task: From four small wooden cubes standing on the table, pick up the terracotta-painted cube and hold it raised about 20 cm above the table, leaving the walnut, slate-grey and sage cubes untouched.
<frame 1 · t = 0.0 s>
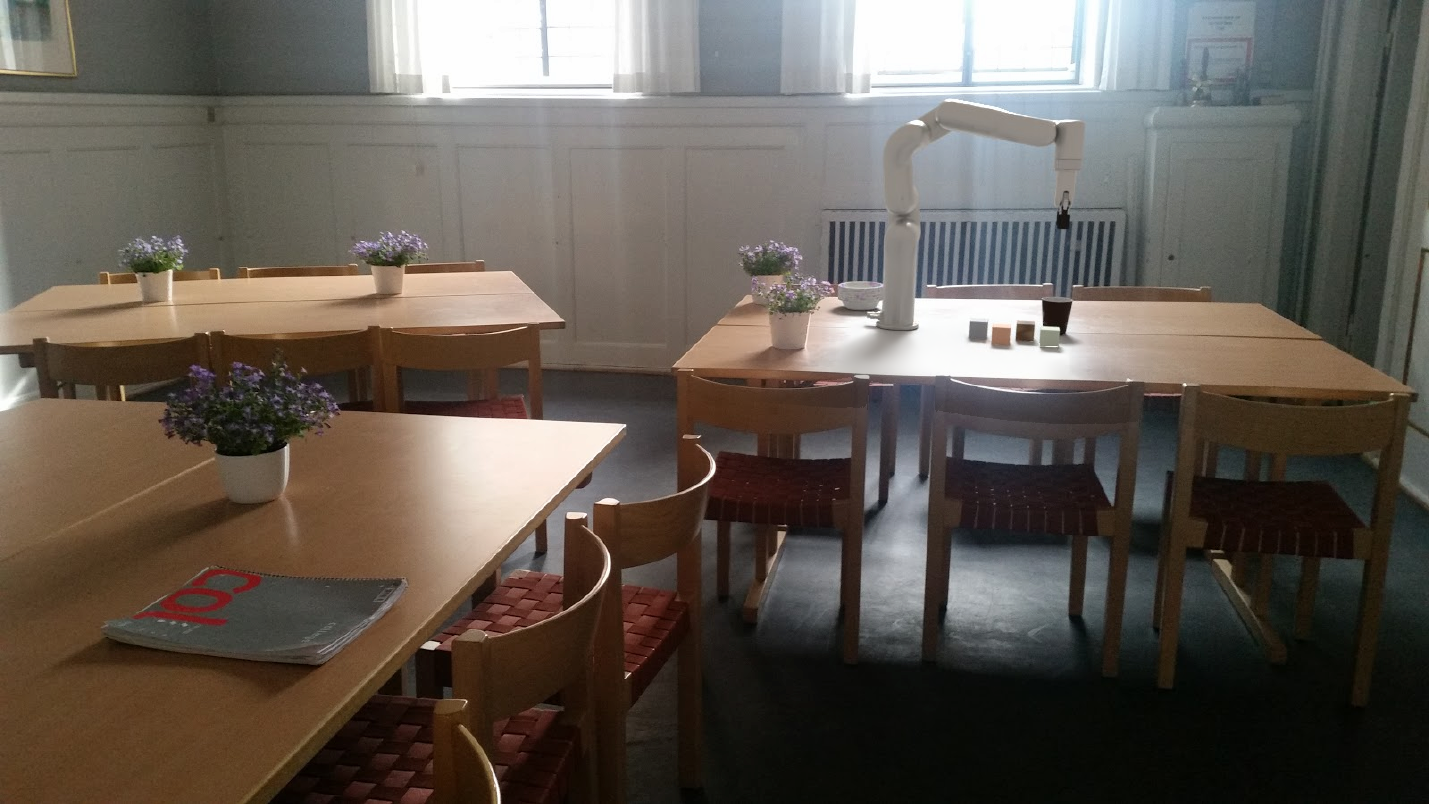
hand: (1062, 227, 314), 31 cm above the table, tool pointing down, fingers open, 9 cm apart
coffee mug: (1056, 333, 326), on the table
sage cube: (1048, 346, 308), on the table
white floral bowl: (860, 308, 363), on the table
slate cube: (977, 337, 320), on the table
terracotta cube: (1000, 343, 311), on the table
walnut cube: (1024, 339, 316), on the table
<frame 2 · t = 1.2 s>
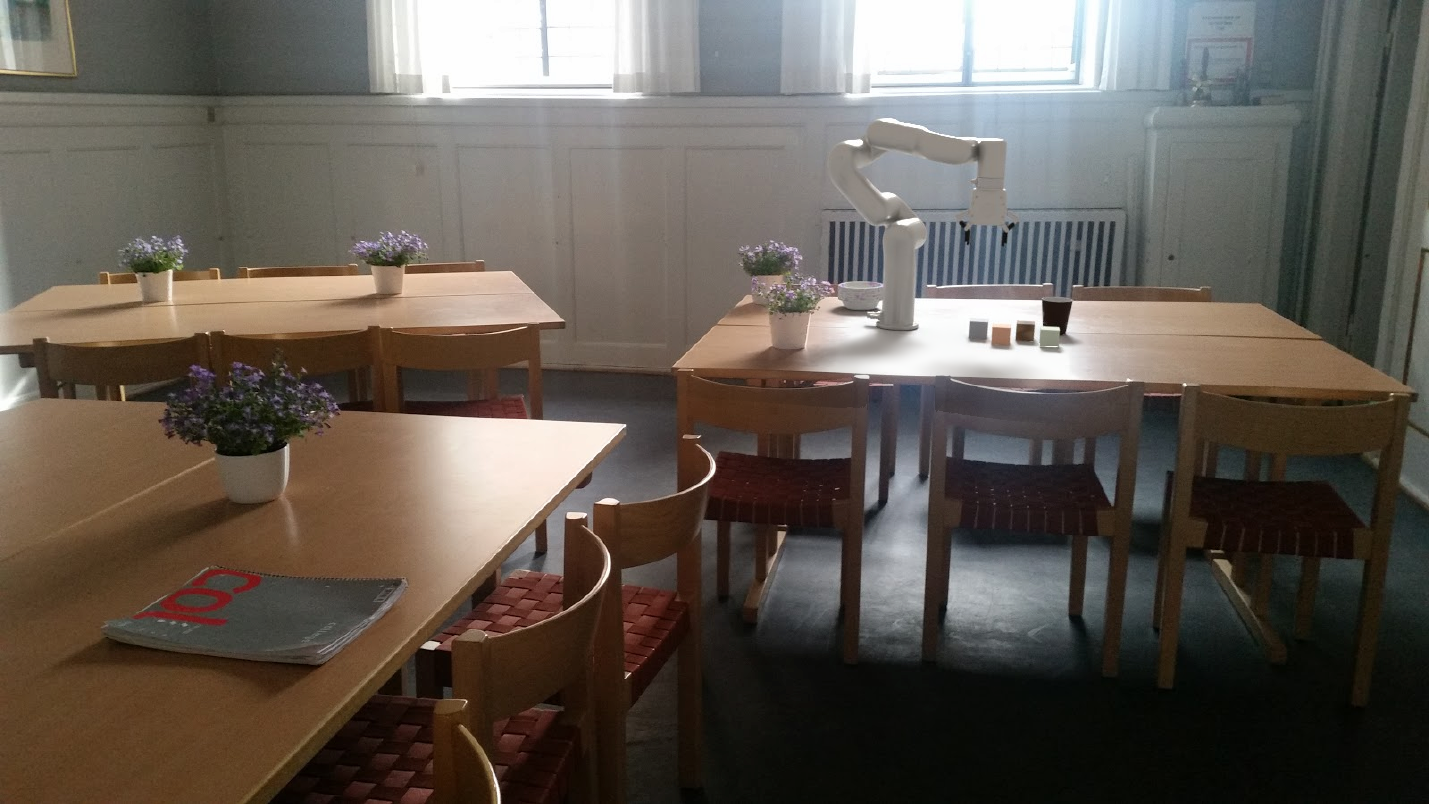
hand: (985, 245, 315), 26 cm above the table, tool pointing down, fingers open, 9 cm apart
nothing on the table moved.
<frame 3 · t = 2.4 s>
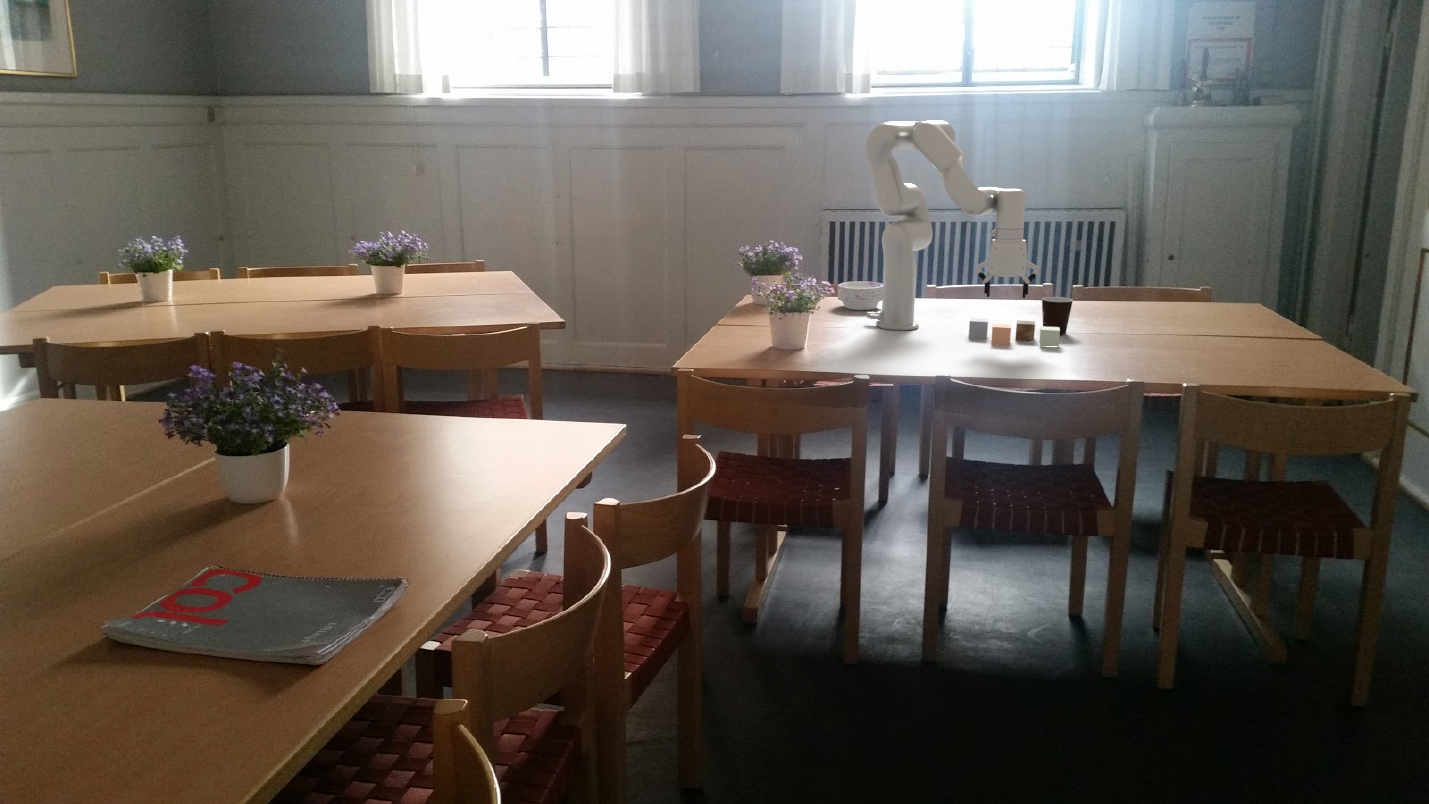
hand: (1005, 296, 308), 13 cm above the table, tool pointing down, fingers open, 9 cm apart
nothing on the table moved.
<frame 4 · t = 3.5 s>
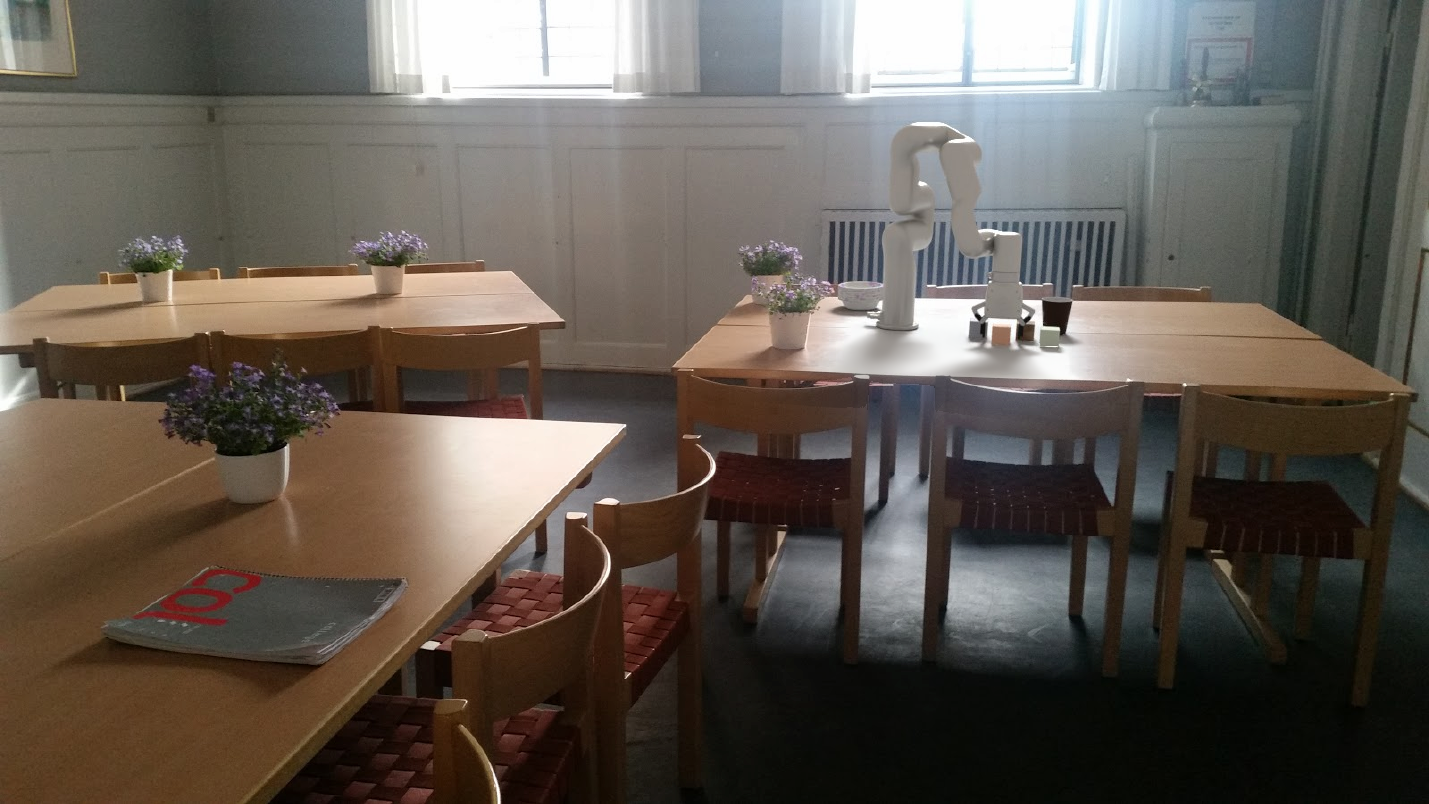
hand: (1001, 337, 311), 1 cm above the table, tool pointing down, fingers open, 9 cm apart
nothing on the table moved.
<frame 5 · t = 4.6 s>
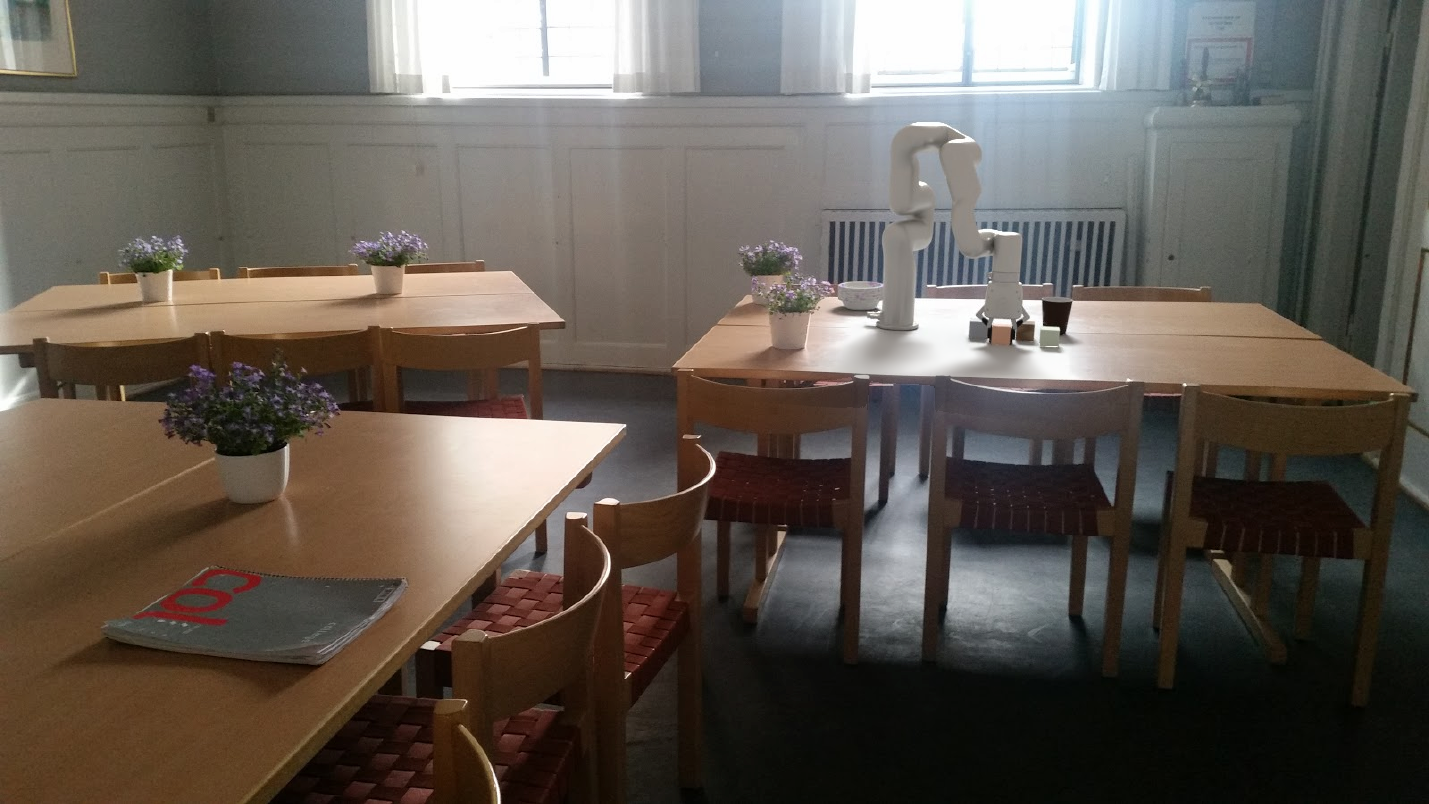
hand: (1000, 341, 311), 0 cm above the table, tool pointing down, fingers closed on terracotta cube, 5 cm apart
terracotta cube: (1000, 343, 311), on the table, touching gripper
everything else where it was.
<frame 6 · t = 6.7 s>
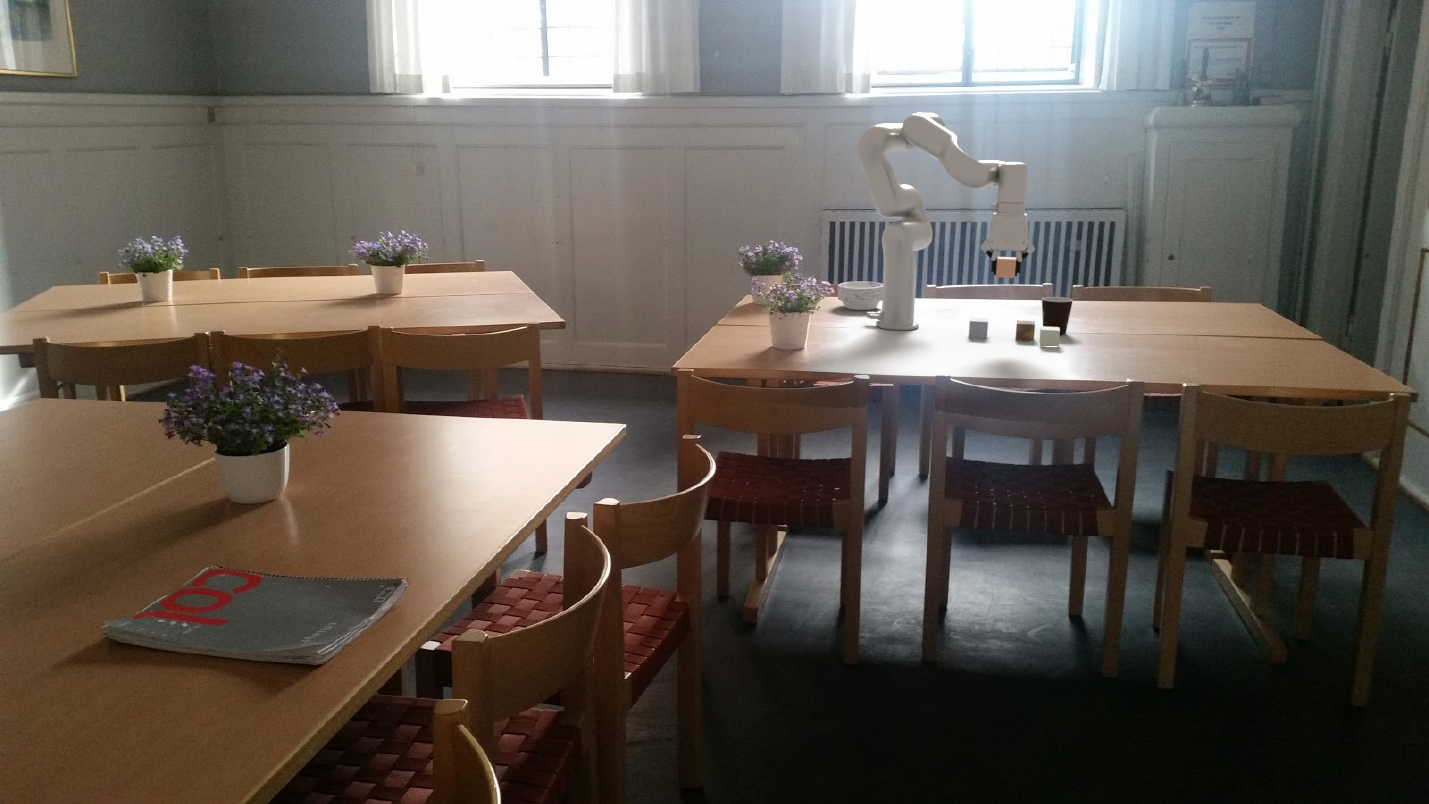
hand: (1005, 274, 306), 19 cm above the table, tool pointing down, fingers closed on terracotta cube, 5 cm apart
terracotta cube: (1005, 276, 307), point 19 cm above the table, touching gripper
everything else where it was.
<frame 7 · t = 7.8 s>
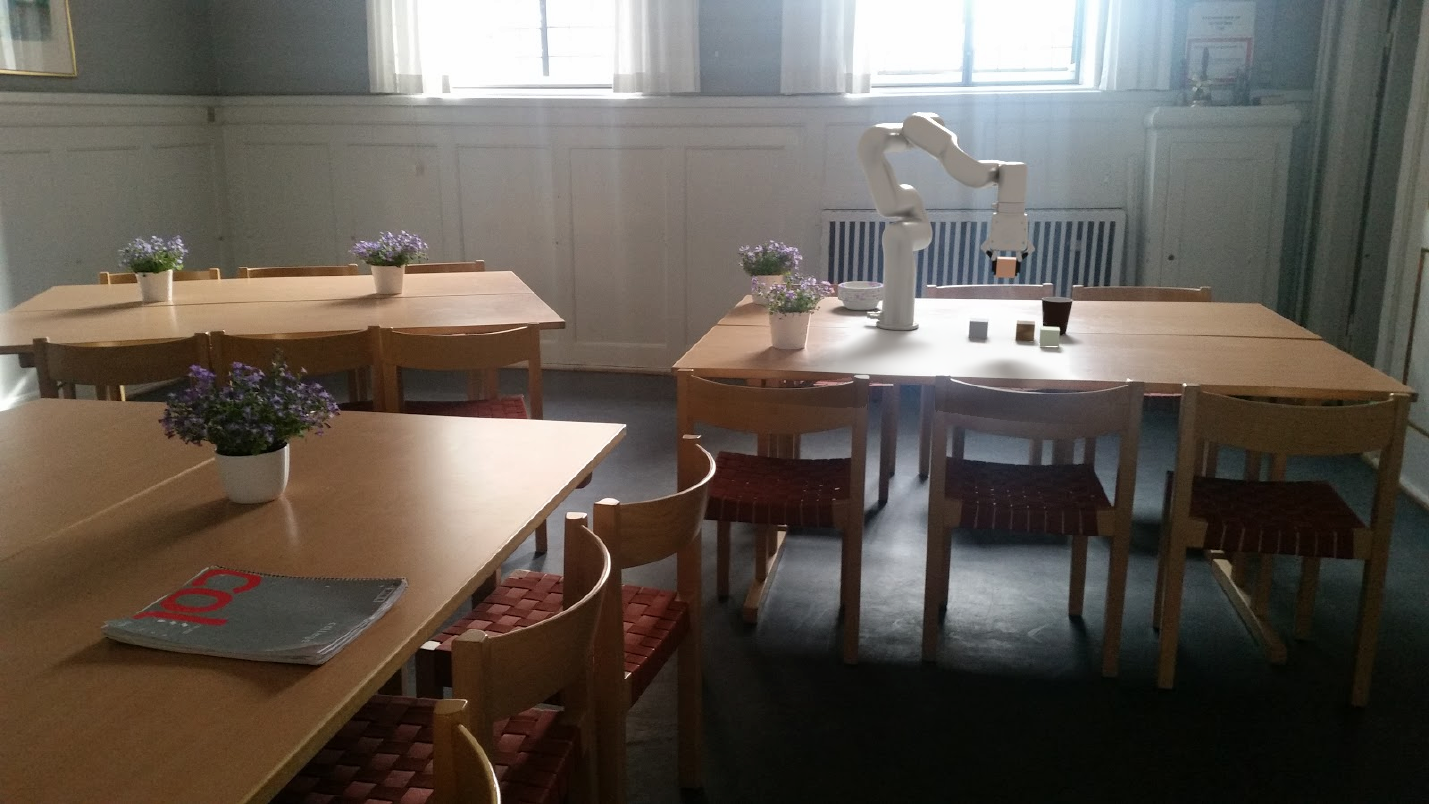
hand: (1005, 274, 306), 19 cm above the table, tool pointing down, fingers closed on terracotta cube, 5 cm apart
terracotta cube: (1005, 276, 307), point 19 cm above the table, touching gripper
everything else where it was.
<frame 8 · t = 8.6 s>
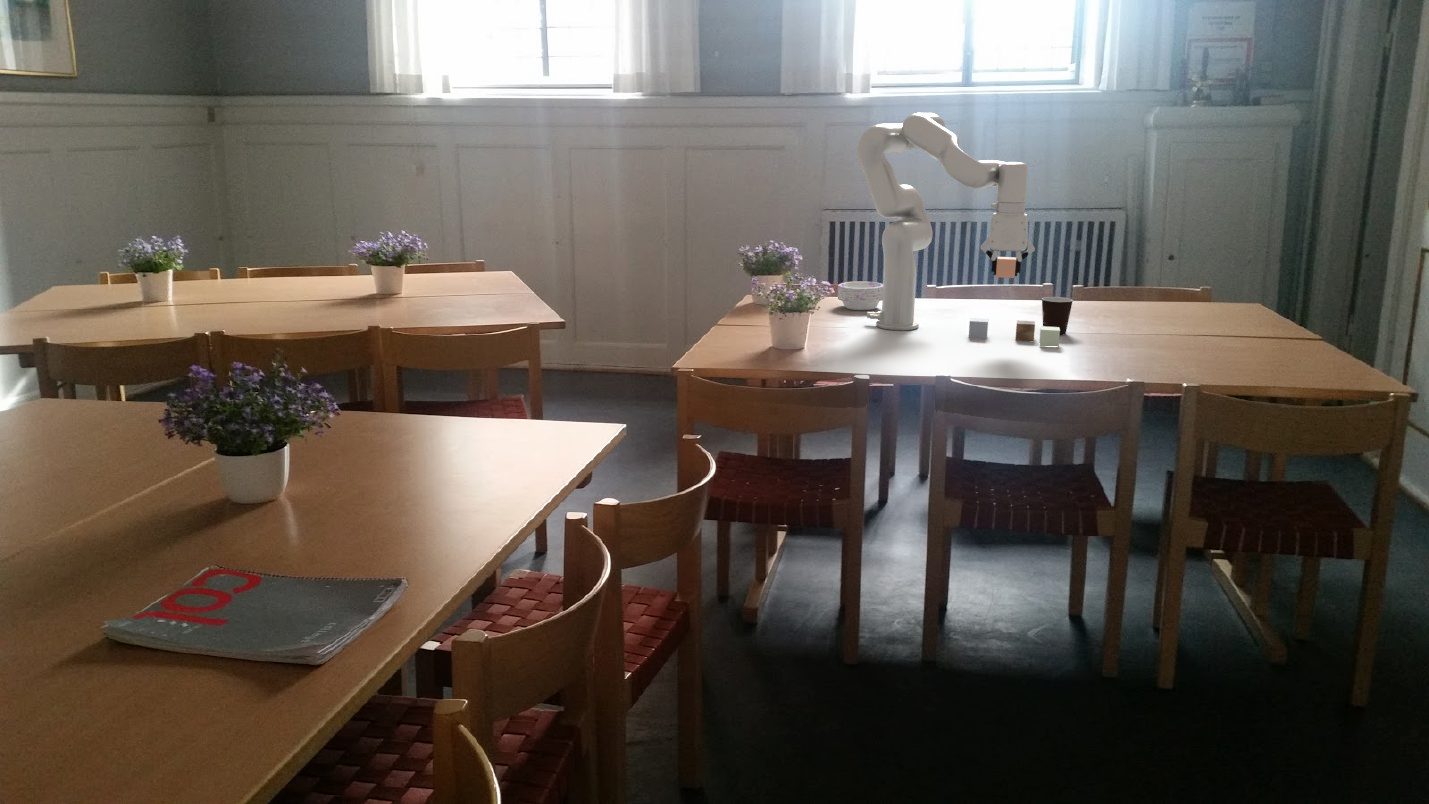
hand: (1005, 274, 306), 19 cm above the table, tool pointing down, fingers closed on terracotta cube, 5 cm apart
terracotta cube: (1005, 276, 307), point 19 cm above the table, touching gripper
everything else where it was.
at the end: the gripper is holding terracotta cube; terracotta cube point 18.8 cm above the table; walnut cube moved 0.1 cm from its start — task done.
